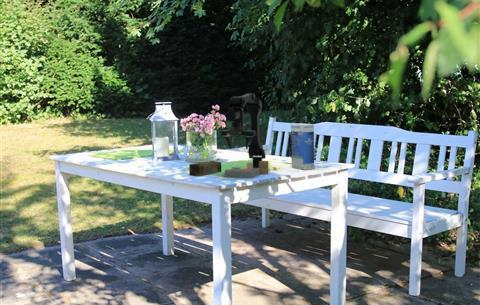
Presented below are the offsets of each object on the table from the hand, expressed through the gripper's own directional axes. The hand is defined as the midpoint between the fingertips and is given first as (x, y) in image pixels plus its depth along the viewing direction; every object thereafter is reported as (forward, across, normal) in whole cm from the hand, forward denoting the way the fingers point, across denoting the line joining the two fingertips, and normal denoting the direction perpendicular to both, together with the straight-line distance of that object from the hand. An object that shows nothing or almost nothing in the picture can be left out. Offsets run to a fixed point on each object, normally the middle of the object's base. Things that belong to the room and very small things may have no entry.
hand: (238, 149), depth 307 cm
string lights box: (+15, +25, +36) cm, 47 cm away
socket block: (+15, +1, +2) cm, 15 cm away
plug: (+15, +10, +11) cm, 21 cm away
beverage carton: (+15, -22, +4) cm, 27 cm away
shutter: (+11, +3, +2) cm, 12 cm away
